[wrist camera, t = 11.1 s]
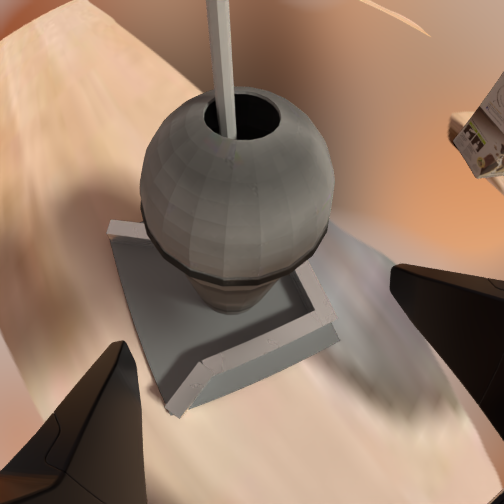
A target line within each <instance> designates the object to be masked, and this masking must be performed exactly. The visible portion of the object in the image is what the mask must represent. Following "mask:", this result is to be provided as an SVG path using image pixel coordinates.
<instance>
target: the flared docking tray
mask: <svg viewBox="0 0 504 504" xmlns="http://www.w3.org/2000/svg"><path fill="white" fill-rule="evenodd" d="M106 234H107V235H108V237H109V238H110V239H111V241H112V242H116V243H123V244H130V245H136V246H143V247H150V248H156V247H155V246H154V244H153V243H152V242H151V240H150V239H149V237H148V236H147V234H146V229H145V225H144V223H136V222H128V221H120V220H112V219H111V220H110V223H109V226H108V229H107V232H106ZM289 275H290V277H291V279H292V281H293V283H294V285H295V287H296V289H297V291H298V293H299V295H300V297H301V299H302V301H303V303H304V305H305V306H306V308H307V310H308V312H309V313H308V314H306V315H304V316H302V317H300V318H298V319H296V320H294V321H292V322H289V323H287V324H285V325H283V326H281V327H279V328H276V329H274V330H272V331H270V332H267V333H265V334H263V335H261V336H258V337H256V338H254V339H252V340H249V341H247V342H245V343H242V344H240V345H238V346H235V347H233V348H231V349H228V350H226V351H223V352H221V353H218V354H216V355H214V356H211V357H209V358H206V359H204V360H202V362H203V364H202V363H201V362H198V363H197V365H196V366H195V367H194V369H193V370H192V371H191V373H190V374H189V375H188V377H187V378H186V379H185V381H184V382H183V383H182V385H181V386H180V387H179V388H178V390H177V391H176V392H175V394H174V395H173V396H172V398H171V399H170V400H169V402H168V403H167V404H166V405H165V408H166V409H167V410H168V411H170V412H171V413H172V414H174V415H175V416H177V417H178V418H179V419H180V418H181V417H182V416H183V415H184V414H185V413H186V412H187V410H188V409H189V407H190V406H191V405H192V404H193V402H194V401H195V400H196V398H197V397H198V396H199V394H200V393H201V392H202V390H203V389H204V388H205V386H206V385H207V384H208V382H209V381H210V380H211V378H212V377H213V376H216V375H218V374H221V373H223V372H226V371H228V370H230V369H233V368H235V367H238V366H240V365H242V364H245V363H247V362H249V361H251V360H254V359H256V358H258V357H260V356H263V355H265V354H267V353H269V352H272V351H274V350H276V349H278V348H280V347H282V346H284V345H287V344H289V343H291V342H293V341H295V340H297V339H299V338H301V337H303V336H305V335H307V334H309V333H311V332H313V331H315V330H317V329H319V328H321V327H323V326H325V325H327V324H329V323H331V322H333V321H334V320H336V319H338V317H337V315H336V313H335V311H334V309H333V307H332V305H331V303H330V301H329V299H328V298H327V296H326V294H325V292H324V290H323V288H322V286H321V284H320V282H319V280H318V278H317V277H316V275H315V273H314V271H313V269H312V267H311V265H310V263H309V261H308V260H307V261H305V262H304V263H303V264H302V265H300V266H299V267H298V268H297V269H295V270H294V271H293V272H292V273H290V274H289Z"/></svg>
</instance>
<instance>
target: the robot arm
mask: <svg viewBox="0 0 504 504" xmlns="http://www.w3.org/2000/svg"><path fill="white" fill-rule="evenodd" d="M390 291H391V294H392V295H393V297H394V298H395V299H396V301H397V302H398V303H399V305H400V306H401V308H402V309H403V311H404V312H405V313H406V315H407V316H408V318H409V319H410V320H411V322H412V323H413V324H414V326H415V327H416V328H417V329H418V330H419V332H420V333H421V334H422V335H423V336H424V337H425V339H426V340H427V341H428V342H429V343H430V345H431V346H432V347H433V348H434V349H435V351H436V352H437V353H438V354H439V356H440V357H441V358H442V359H443V360H444V362H445V363H446V364H447V365H448V367H449V368H450V369H451V370H452V371H453V373H454V374H455V375H456V377H457V378H458V379H459V380H460V382H461V383H462V384H463V386H464V387H465V388H466V390H467V391H468V392H469V394H470V395H471V396H472V397H473V399H474V400H475V401H476V403H477V404H478V405H479V407H480V408H481V410H482V411H483V412H484V414H485V415H486V417H487V418H488V420H489V421H490V422H491V424H492V425H493V426H494V428H495V429H496V431H497V432H498V433H499V435H500V437H501V438H502V439H503V441H504V281H502V280H495V279H489V278H484V277H479V276H473V275H467V274H461V273H456V272H450V271H444V270H438V269H432V268H426V267H421V266H415V265H409V264H398V265H395V266H393V267H392V269H391V275H390ZM0 504H147V495H146V485H145V472H144V458H143V438H142V408H141V400H140V392H139V384H138V376H137V367H136V363H135V360H134V358H133V356H132V354H131V352H130V350H129V347H128V345H127V343H126V342H125V341H117V342H113V343H111V344H110V345H109V347H108V348H107V349H106V350H105V351H104V352H103V354H102V355H101V356H100V357H99V358H98V359H97V361H96V362H95V363H94V364H93V365H92V366H91V368H90V369H89V370H88V371H87V372H86V373H85V375H84V376H83V377H82V378H81V379H80V381H79V382H78V383H77V384H76V385H75V387H74V388H73V389H72V390H71V391H70V393H69V394H68V395H67V396H66V397H65V399H64V400H63V401H62V402H61V403H60V405H59V406H58V407H57V408H56V410H55V411H54V413H52V414H51V416H50V417H49V418H48V419H47V421H46V422H45V423H44V424H43V425H42V427H41V428H40V429H39V430H38V431H37V433H36V434H35V435H34V436H33V437H32V438H31V439H30V440H29V441H28V443H27V444H26V445H25V446H24V447H23V448H22V449H21V450H20V451H19V452H18V453H17V454H16V455H15V456H14V458H13V459H12V460H11V461H10V462H9V463H8V464H7V465H6V466H5V467H4V468H3V469H2V470H1V471H0ZM488 504H504V488H503V489H502V490H501V491H500V492H499V493H498V494H497V495H496V496H495V497H494V498H493V499H492V500H491V501H490V502H489V503H488Z"/></svg>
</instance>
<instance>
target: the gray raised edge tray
mask: <svg viewBox="0 0 504 504" xmlns="http://www.w3.org/2000/svg"><path fill="white" fill-rule="evenodd" d="M140 223H144V221H143V222H140ZM109 239H110V238H109ZM110 243H111V247H112V251H113V255H114V258H115V262H116V266H117V269H118V273H119V277H120V280H121V283H122V287H123V290H124V294H125V297H126V300H127V303H128V306H129V310H130V313H131V316H132V319H133V322H134V325H135V328H136V330H137V333H138V336H139V339H140V342H141V345H142V347H143V350H144V353H145V355H146V358H147V361H148V363H149V366H150V368H151V371H152V373H153V376H154V378H155V381H156V383H157V386H158V388H159V390H160V393H161V395H162V397H163V400H164V402H165V404H167V403H168V402H169V400H170V399H171V398H172V396H173V395H174V394H175V392H176V391H177V390H178V388H179V387H180V386H181V385H182V383H183V382H184V381H185V379H186V378H187V377H188V375H189V374H190V373H191V371H192V370H193V369H194V367H195V366H196V365H197V363H198V362H201V363H202V364H203V362H202V360H204V359H206V358H209V357H211V356H214V355H216V354H218V353H221V352H223V351H226V350H228V349H231V348H233V347H235V346H238V345H240V344H242V343H245V342H247V341H249V340H252V339H254V338H256V337H258V336H261V335H263V334H265V333H267V332H270V331H272V330H274V329H276V328H279V327H281V326H283V325H285V324H287V323H289V322H292V321H294V320H296V319H298V318H300V317H302V316H304V315H306V314H308V313H309V312H308V310H307V308H306V306H305V305H304V303H303V301H302V299H301V297H300V295H299V293H298V291H297V289H296V287H295V285H294V283H293V281H292V279H291V277H290V275H286V276H283V277H281V278H280V279H279V280H278V281H277V282H276V283H275V284H274V286H273V287H272V288H271V289H270V290H269V291H268V292H267V294H266V295H265V296H264V297H263V298H262V299H261V300H260V302H259V303H257V304H256V305H255V306H253V307H252V308H251V309H250V310H248V311H247V312H244V313H241V314H239V315H225V314H221V313H218V312H216V311H214V310H213V309H212V308H210V307H209V306H208V305H207V304H206V303H205V302H204V301H203V300H202V298H201V297H200V296H199V294H198V293H197V291H196V290H195V288H194V287H193V286H192V284H191V283H190V281H189V280H188V278H187V277H186V275H185V274H184V273H183V272H182V271H180V270H179V269H178V268H176V267H175V266H173V265H172V264H170V263H169V262H168V261H166V260H165V259H163V257H162V256H161V254H160V253H159V252H158V250H157V249H156V248H150V247H143V246H136V245H130V244H123V243H116V242H112V241H111V239H110ZM338 341H340V339H339V337H338V335H337V333H336V331H335V329H334V327H333V325H332V323H329V324H327V325H325V326H323V327H321V328H319V329H317V330H315V331H313V332H311V333H309V334H307V335H305V336H303V337H301V338H299V339H297V340H295V341H293V342H291V343H289V344H287V345H284V346H282V347H280V348H278V349H276V350H274V351H272V352H269V353H267V354H265V355H263V356H260V357H258V358H256V359H254V360H251V361H249V362H247V363H245V364H242V365H240V366H238V367H235V368H233V369H230V370H228V371H226V372H223V373H221V374H218V375H216V376H213V377H212V378H211V380H210V381H209V382H208V384H207V385H206V386H205V388H204V389H203V390H202V392H201V393H200V394H199V396H198V397H197V398H196V400H195V401H194V402H193V404H192V405H191V406H190V407H189V409H191V408H194V407H197V406H199V405H202V404H205V403H207V402H210V401H212V400H215V399H217V398H220V397H222V396H225V395H227V394H230V393H232V392H235V391H237V390H239V389H242V388H244V387H246V386H249V385H251V384H253V383H255V382H258V381H260V380H262V379H264V378H267V377H269V376H271V375H273V374H275V373H277V372H279V371H282V370H284V369H286V368H288V367H290V366H292V365H294V364H296V363H298V362H300V361H302V360H304V359H306V358H308V357H310V356H312V355H314V354H316V353H318V352H320V351H322V350H324V349H325V348H327V347H329V346H331V345H333V344H335V343H337V342H338ZM169 413H170V415H174V414H172V413H171V412H170V411H169Z"/></svg>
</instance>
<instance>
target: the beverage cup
mask: <svg viewBox="0 0 504 504" xmlns="http://www.w3.org/2000/svg"><path fill="white" fill-rule="evenodd" d="M206 5H207V17H208V28H209V38H210V49H211V60H212V69H213V80H214V90H210V91H208V92H205V93H203V94H200V95H198V96H196V97H194V98H192V99H190V100H188V101H186V102H185V103H183V104H182V105H181V106H180V107H178V108H177V109H176V110H175V111H173V112H172V113H171V114H170V115H169V116H168V117H167V118H166V119H165V120H164V121H163V123H162V124H161V126H160V127H159V129H158V130H157V132H156V134H155V135H154V137H153V138H152V140H151V142H150V144H149V146H148V147H147V150H146V153H145V157H144V162H143V167H142V173H141V179H140V196H141V213H142V217H143V221H144V225H145V229H146V234H147V236H148V237H149V239H150V240H151V242H152V243H153V244H154V246H155V247H156V249H157V250H158V252H159V253H160V254H161V256H162V257H163V259H165V260H166V261H168V262H169V263H170V264H172V265H173V266H175V267H176V268H178V269H179V270H180V271H182V272H183V273H184V274H185V275H186V277H187V278H188V280H189V281H190V283H191V284H192V286H193V287H194V288H195V290H196V291H197V293H198V294H199V296H200V297H201V298H202V300H203V301H204V302H205V303H206V304H207V305H208V306H209V307H210V308H212V309H213V310H214V311H216V312H218V313H221V314H225V315H239V314H241V313H244V312H247V311H248V310H250V309H251V308H252V307H253V306H255V305H256V304H257V303H259V302H260V300H261V299H262V298H263V297H264V296H265V295H266V294H267V292H268V291H269V290H270V289H271V288H272V287H273V286H274V284H275V283H276V282H277V281H278V280H279V279H280V278H281V277H283V276H286V275H289V274H290V273H292V272H293V271H294V270H295V269H297V268H298V267H299V266H300V265H302V264H303V263H304V262H305V261H307V260H308V259H309V258H310V257H312V256H313V254H314V253H315V251H316V249H317V248H318V246H319V244H320V243H321V241H322V239H323V238H324V236H325V234H326V232H327V228H328V222H329V217H330V211H331V205H332V198H333V191H334V184H335V179H334V170H333V166H332V163H331V159H330V155H329V151H328V148H327V145H326V143H325V140H324V139H323V137H322V136H321V134H320V133H319V131H318V130H317V128H316V127H315V126H314V124H313V123H312V121H311V120H310V119H309V117H308V116H307V115H306V114H305V113H303V112H302V111H301V110H300V109H298V108H297V107H296V106H295V105H293V104H292V103H291V102H289V101H288V100H286V99H285V98H283V97H281V96H278V95H276V94H274V93H272V92H269V91H266V90H262V89H257V88H252V87H234V86H233V69H232V51H231V34H230V15H229V0H206Z"/></svg>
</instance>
